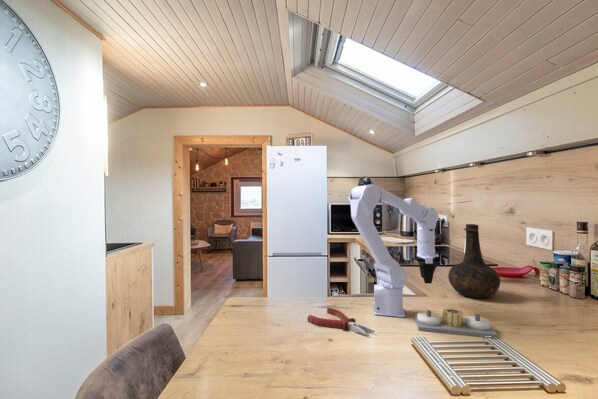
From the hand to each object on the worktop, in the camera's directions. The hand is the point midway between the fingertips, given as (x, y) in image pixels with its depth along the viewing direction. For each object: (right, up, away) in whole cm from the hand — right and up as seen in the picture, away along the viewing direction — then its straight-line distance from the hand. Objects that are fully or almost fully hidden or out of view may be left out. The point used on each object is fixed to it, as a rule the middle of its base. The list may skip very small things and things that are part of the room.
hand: (426, 280), depth 105 cm
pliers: (-33, -10, -15) cm, 38 cm away
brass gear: (+1, -8, -17) cm, 19 cm away
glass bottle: (+25, -10, +14) cm, 30 cm away
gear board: (+1, -9, -17) cm, 19 cm away
